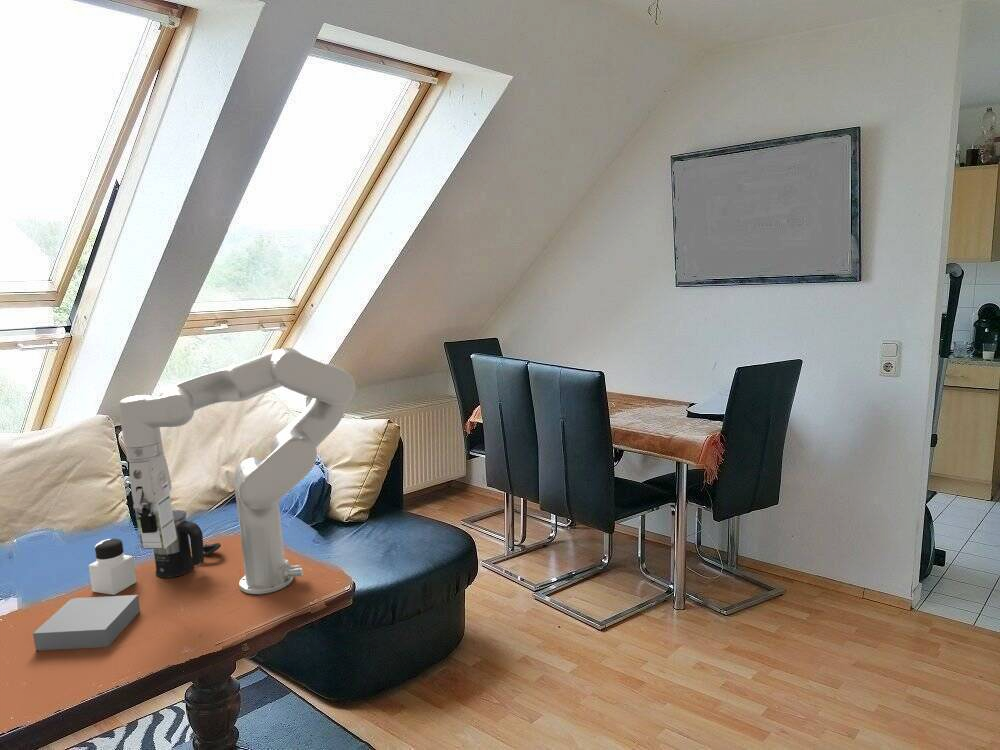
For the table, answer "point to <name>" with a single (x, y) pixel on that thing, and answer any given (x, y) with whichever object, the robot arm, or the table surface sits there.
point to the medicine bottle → (111, 568)
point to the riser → (87, 623)
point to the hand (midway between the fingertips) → (156, 525)
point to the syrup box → (159, 524)
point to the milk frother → (182, 549)
